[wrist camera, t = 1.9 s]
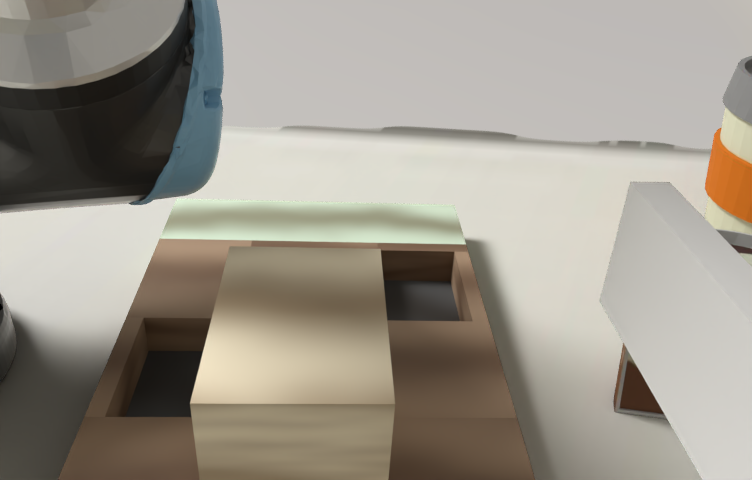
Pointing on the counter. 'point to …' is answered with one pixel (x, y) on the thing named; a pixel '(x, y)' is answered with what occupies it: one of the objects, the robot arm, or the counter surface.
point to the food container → (630, 382)
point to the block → (296, 368)
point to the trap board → (405, 327)
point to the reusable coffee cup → (733, 158)
